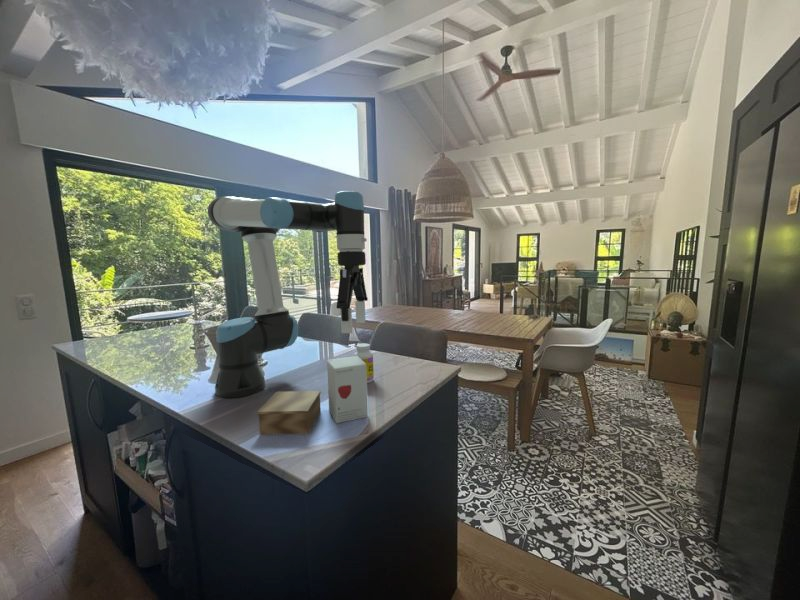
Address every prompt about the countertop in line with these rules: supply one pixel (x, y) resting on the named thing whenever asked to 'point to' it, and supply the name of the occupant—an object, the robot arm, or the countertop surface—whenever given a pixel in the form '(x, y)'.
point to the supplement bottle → (366, 359)
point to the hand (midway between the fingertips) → (354, 327)
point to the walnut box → (290, 412)
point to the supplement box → (347, 388)
